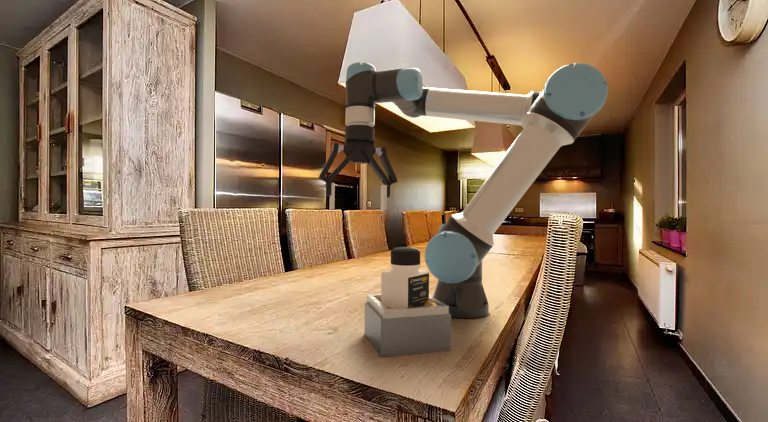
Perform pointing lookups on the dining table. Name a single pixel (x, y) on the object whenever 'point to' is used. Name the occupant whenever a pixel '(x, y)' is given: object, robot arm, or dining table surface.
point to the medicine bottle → (405, 280)
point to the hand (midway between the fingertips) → (358, 209)
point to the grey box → (407, 327)
